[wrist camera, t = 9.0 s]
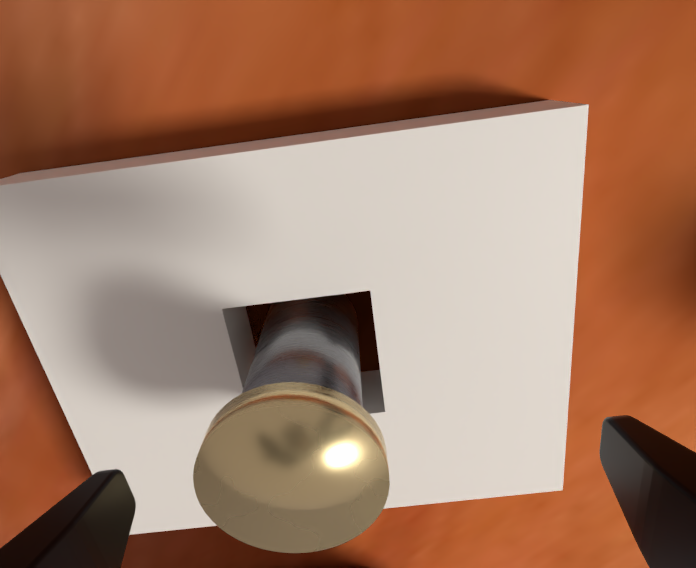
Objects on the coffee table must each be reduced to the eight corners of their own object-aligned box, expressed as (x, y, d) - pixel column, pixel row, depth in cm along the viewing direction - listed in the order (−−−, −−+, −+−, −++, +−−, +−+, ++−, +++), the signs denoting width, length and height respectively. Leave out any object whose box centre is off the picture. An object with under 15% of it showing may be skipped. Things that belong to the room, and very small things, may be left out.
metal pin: (364, 261, 20) (379, 395, 12) (377, 366, 22) (397, 543, 14) (241, 277, 20) (169, 418, 12) (265, 379, 22) (219, 561, 14)
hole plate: (549, 99, 17) (588, 104, 15) (537, 442, 24) (562, 490, 21) (19, 173, 18) (-39, 190, 15) (145, 483, 25) (120, 535, 22)
